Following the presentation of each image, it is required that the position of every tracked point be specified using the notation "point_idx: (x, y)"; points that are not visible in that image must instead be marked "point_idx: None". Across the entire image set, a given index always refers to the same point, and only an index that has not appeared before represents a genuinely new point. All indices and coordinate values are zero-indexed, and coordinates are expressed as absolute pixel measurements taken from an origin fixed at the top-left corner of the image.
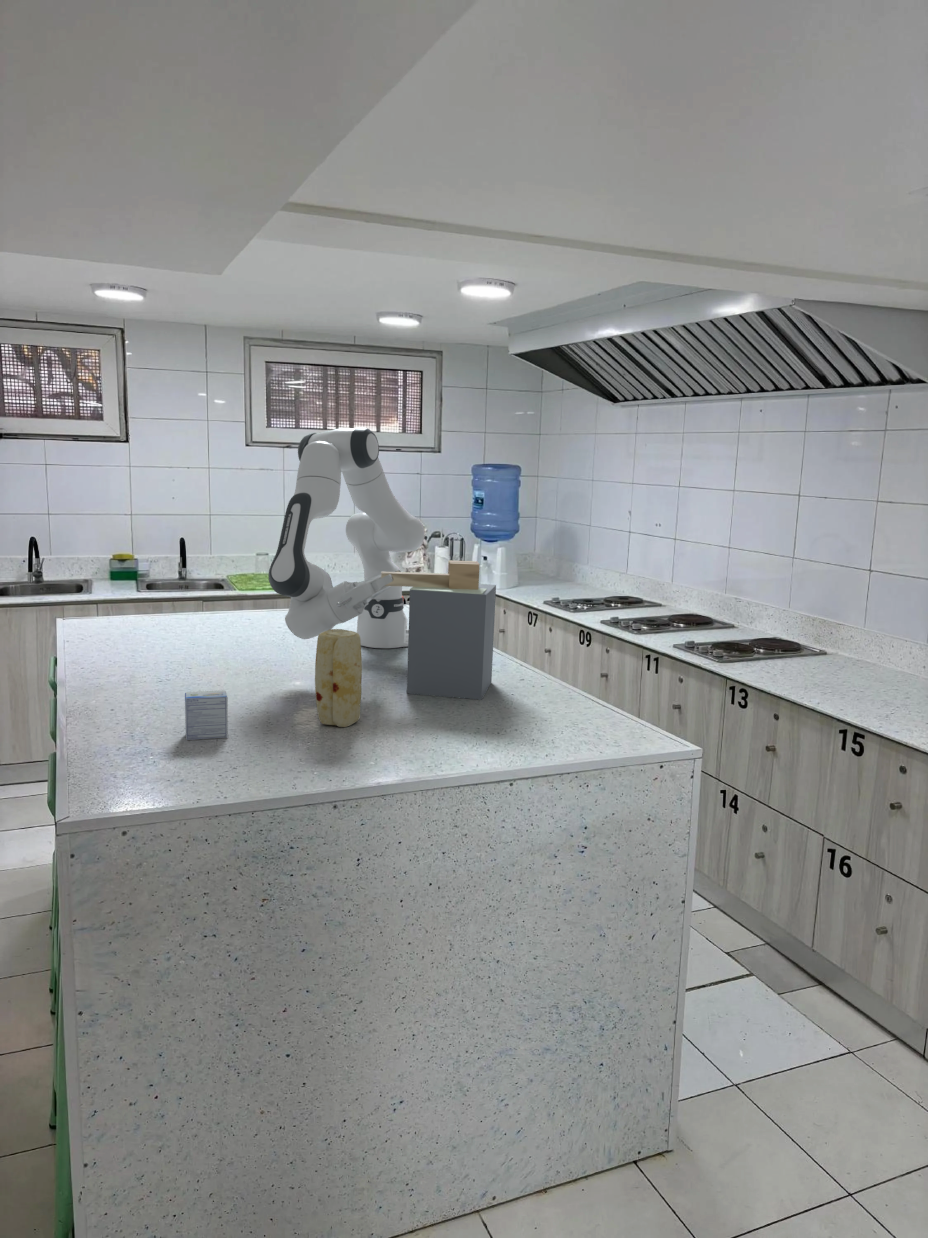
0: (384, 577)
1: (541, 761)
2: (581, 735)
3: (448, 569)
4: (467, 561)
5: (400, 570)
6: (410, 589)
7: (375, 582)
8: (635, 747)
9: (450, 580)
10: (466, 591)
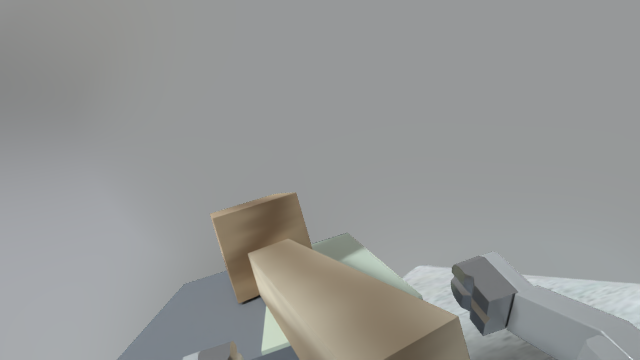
0: (522, 279)
1: (570, 284)
2: (455, 302)
3: (243, 239)
4: (222, 211)
5: (193, 354)
6: (420, 297)
7: (627, 331)
8: (447, 276)
9: (309, 245)
10: (340, 245)
